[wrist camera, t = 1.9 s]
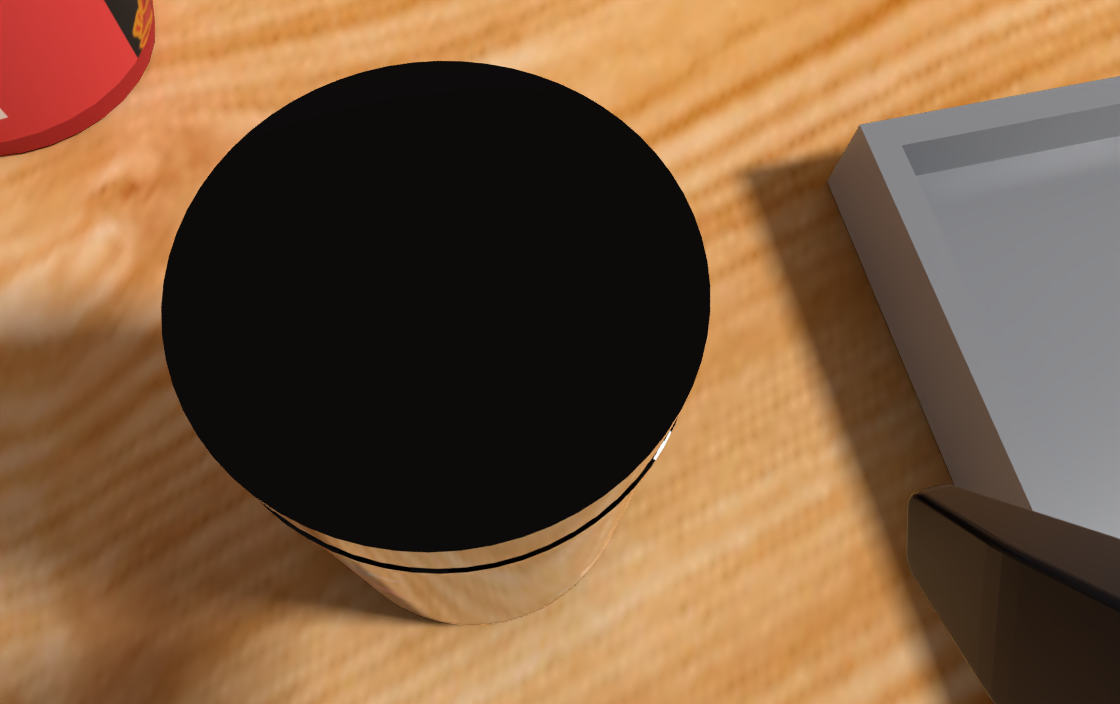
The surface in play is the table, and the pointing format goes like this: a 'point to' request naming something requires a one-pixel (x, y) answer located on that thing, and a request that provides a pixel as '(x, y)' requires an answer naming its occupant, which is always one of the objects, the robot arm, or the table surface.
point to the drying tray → (1003, 286)
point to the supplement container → (440, 328)
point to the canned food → (67, 65)
